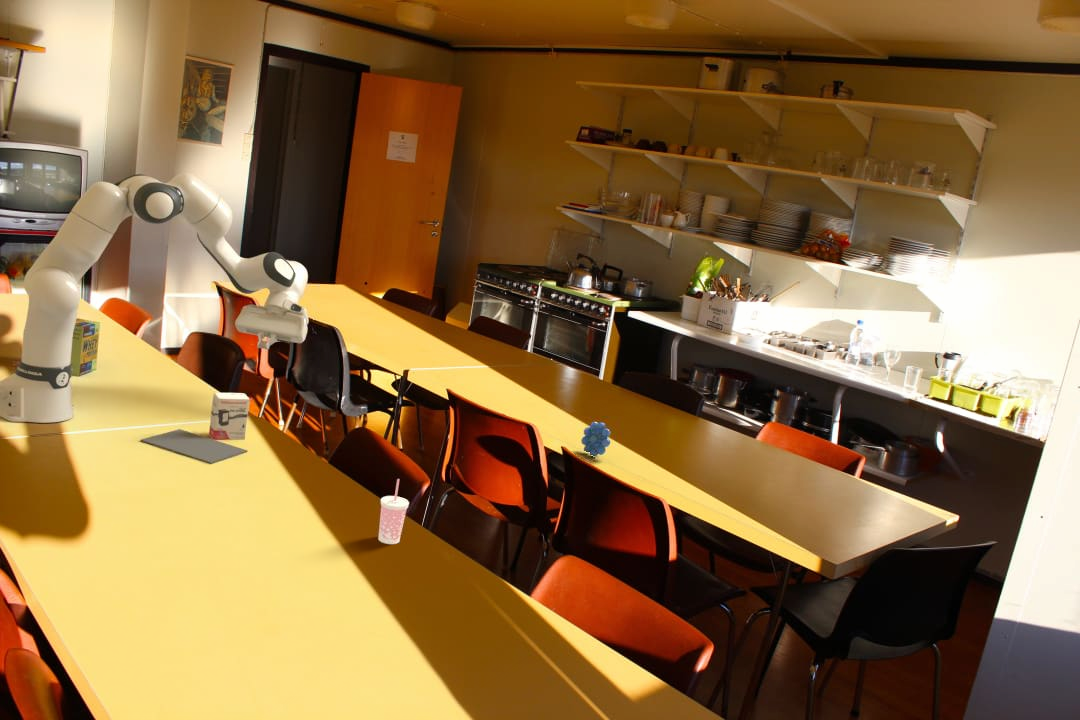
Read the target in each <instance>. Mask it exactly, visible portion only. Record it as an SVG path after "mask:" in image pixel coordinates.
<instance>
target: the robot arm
mask: <svg viewBox="0 0 1080 720" xmlns="http://www.w3.org/2000/svg"><path fill="white" fill-rule="evenodd" d="M178 215H180V216H181V217H182V218H183V219H184V220H185V221H186V222H187V223H189V225H190V226H191V227H193V229H194V230H195V232H196V236H197V237H196V238H198V241H199V243H200V244H201V245H202V247H203V248H204V249H205V250H206V252H207V253H208V254H209V255H210V257H211V258H212V259H213V260H214V261H215V262H216V263H217V264H218V265H219V267H220V268H221V269H222V271H224V273H225V274H226V275H227V277H228V278H229V281H230V283H232V284H231V285H233V287H234V288H235V289H236V290H238V291H239V292H240V293H242V294H244V295H245V294H246V295H249V294H250V295H251V294H253V293H256V292H258V291H260V290H264V289H267V290H269V294H268V296H267V298H266V301H265V302H264V305H255V304H253V303H252V304H251V303H250V304H247V305H244V306H243V307H242V309H241V311H240V314H239V315H238V316H237V318H236V319H235V321H234V325H235V328H236V330H237V332H239V333H244V334H249V335H253V336H254V335H255V336H258V341H257V345H256V346H257V348H258V349H263V350H269V349H270V346H272V345H273V344H274V343H276V342H277V341H278V340H281V341H287V342H290V343H296V344H302V343H303V342H304V341H305V340H306V337H307V334H308V325H309V322H310V321H309V315H308V311H307V309H306V308H305V307H304V306H301V305H300V304H299V301H300V300H301V299H302V298H303V295H304V292H305V290H306V287H307V284H308V279H309V274H308V270H307V268H306V267H305V266H304V265H303V264H302V263H300V262H298V261H295V260H289V259H286V258H285V257H284V256H283V255H282V254H280V253H278V252H275V251H270V252H266V253H262V254H260V255H259V254H258V255H257V256H253V257H249V258H246V257H245V258H244V257H241V256H240V255H239V254H238V253H237V252H236V251H235V250H234V249H233V247H232V246H231V245H230V244H229V242H228V241H227V240H226V239H225V236H226V235H227V234H228V232H229V230H230V228H231V227H232V224H233V219H234V217H233V216H234V215H233V211H232V207H230V205H229V204H228V203H227V202H226V201H225V199H224V198H222V196H220V195H219V194H218V193H217V191H215V190H214V189H212V188H211V187H210V186H209V185H208V184H207V183H205V182H204V181H202V180H201V179H200V178H198V177H197V176H195V175H193V174H191V173H188V172H184V173H183V172H182V173H179V174H178V175H175V176H174V177H173V178H171V179H170V181H168V182H161V181H160V180H158V179H157V178H154V177H151V176H148V175H145V174H140V173H139V174H131V175H129V176H126V177H125V178H123V179H122V180H120V181H118V182H116V183H111V182H107V181H97V182H94V183H93V184H92V185H91V186H90V187H89V188H88V189H87V190H86V191H85V192H84V193H83V194H82V195H81V197H80V198H79V199H78V200H77V201H76V203H75V205H74V206H73V208H72V209H71V211H70V212H69V213H68V215H67V217H66V218H65V220H64V222H63V224H61V227H60V228H59V230H58V231H57V233H56V235H55V236H54V237H53V239H52V240H51V241H50V242H49V244H48V245H47V246H46V247H45V248H44V250H43V251H42V253H40V255H39V256H38V258H37V259H36V260H35V261H34V263H33V264H32V265H31V267H30V268H29V269H28V270H27V272H26V274H25V276H24V279H23V286H24V287H23V288H24V291H25V293H26V294H27V295H28V308H27V315H26V320H25V325H24V328H23V333H22V335H23V337H22V346H21V347H22V350H21V359H20V360H14V361H12V363H14V364H12V366H13V367H14V366H15V367H16V368H15V371H14V373H12V374H11V375H9V376H7V377H6V378H3V379H2V380H0V417H1V418H2V419H5V420H6V421H8V422H15V423H16V422H21V423H23V422H27V423H42V424H45V423H46V424H47V423H59V422H63V421H67V420H70V419H72V418H73V417H74V413H73V411H74V410H75V408H74V405H73V404H72V403H73V402H72V398H73V397H72V382H71V377H72V375H71V374H72V363H71V362H70V361H71V349H72V338H73V331H74V327H75V322H76V318H78V313H79V305H80V301H81V289H80V285H79V282H80V281H81V279H82V277H83V276H84V275H86V272H88V270H89V269H90V268H92V266H93V265H94V264H95V263H96V262H97V261H99V259H100V258H101V255H102V254H103V252H104V251H105V249H106V248H107V246H108V245H109V242H110V241H111V240H112V238H113V236H114V235H115V233H116V232H117V230H118V228H119V225H120V224H121V223H122V222H123V221H124V220H125V219H128V217H130V216H131V217H132V216H134V217H136V218H137V219H139V220H142V221H144V222H146V223H148V224H155V225H156V224H157V225H159V224H164V223H167V222H169V221H171V220H172V219H173V218H174V217H176V216H178ZM265 338H269V339H267V340H264V339H265Z"/></svg>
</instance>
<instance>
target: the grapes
mask: <svg viewBox="0 0 1080 720" xmlns="http://www.w3.org/2000/svg"><path fill="white" fill-rule="evenodd" d="M583 435H584V436H583V437H582V438H581V441H580V442H581V444H582V445H583V446H584V447H583V452H584V451H586V452H590V453H589V455H590V456H591V455H593V456H596V457H597V456H598V455H600V456H602V455H604V454H605V452H606V450H607V449H606V448H608V447H609V446H610V445H611V440H610V439H609V437H610V435H611V430H610V429H609V428H606V424H605V422H603V421H602V422H601V421H599V423H598V422H597V421H592V422H591V423H590V424H589V427H585V428H584V429H583Z"/></svg>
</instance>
